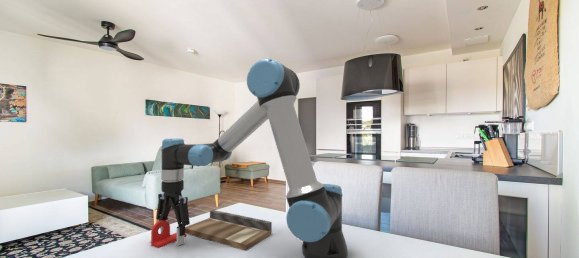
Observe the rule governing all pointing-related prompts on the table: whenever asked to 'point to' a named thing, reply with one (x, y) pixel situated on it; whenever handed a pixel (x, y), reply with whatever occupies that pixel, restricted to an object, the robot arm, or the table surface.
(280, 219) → the table surface
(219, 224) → the board
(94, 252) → the table surface
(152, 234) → the bracket
